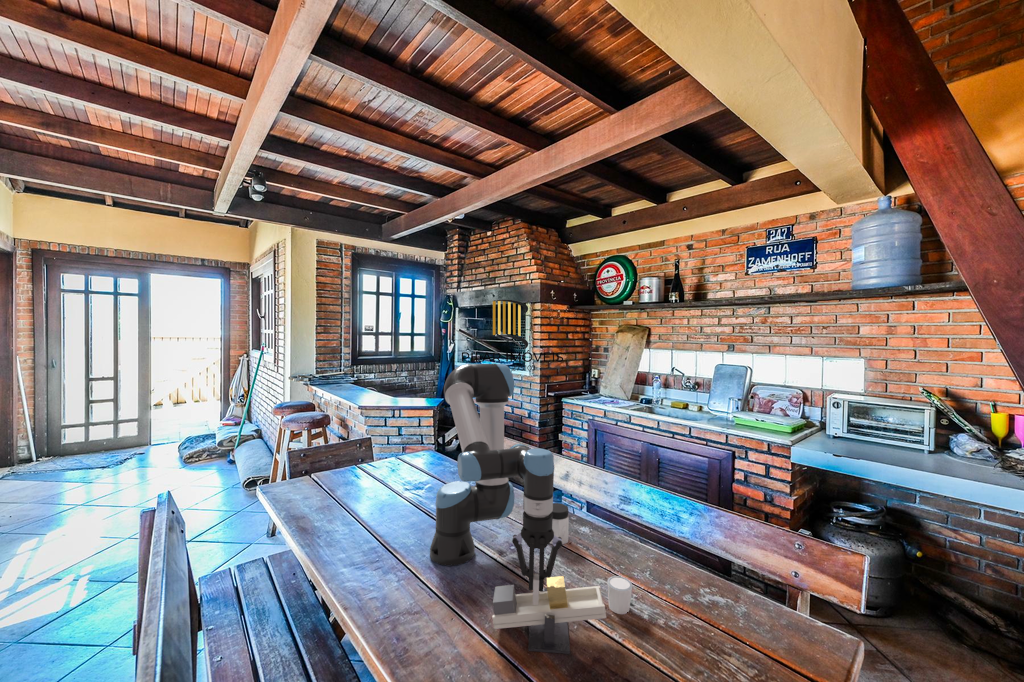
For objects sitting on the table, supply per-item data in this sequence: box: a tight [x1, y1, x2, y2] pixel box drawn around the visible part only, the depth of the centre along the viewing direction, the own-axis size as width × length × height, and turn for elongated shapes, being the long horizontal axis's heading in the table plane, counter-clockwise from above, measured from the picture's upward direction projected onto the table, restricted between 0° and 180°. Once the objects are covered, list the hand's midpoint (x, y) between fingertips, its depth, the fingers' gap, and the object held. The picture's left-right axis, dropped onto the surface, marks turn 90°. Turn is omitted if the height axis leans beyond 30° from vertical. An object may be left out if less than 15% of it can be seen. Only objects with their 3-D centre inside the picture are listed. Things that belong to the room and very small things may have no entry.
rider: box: [546, 575, 568, 609], centre depth 106 cm, size 4×4×6 cm
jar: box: [548, 502, 570, 545], centre depth 152 cm, size 9×8×12 cm
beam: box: [491, 584, 607, 630], centre depth 106 cm, size 28×9×6 cm, turn 86°
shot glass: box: [606, 575, 633, 615], centre depth 116 cm, size 7×7×7 cm
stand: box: [528, 587, 571, 655], centre depth 106 cm, size 10×14×8 cm
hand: (535, 601), depth 106 cm, fingers closed
